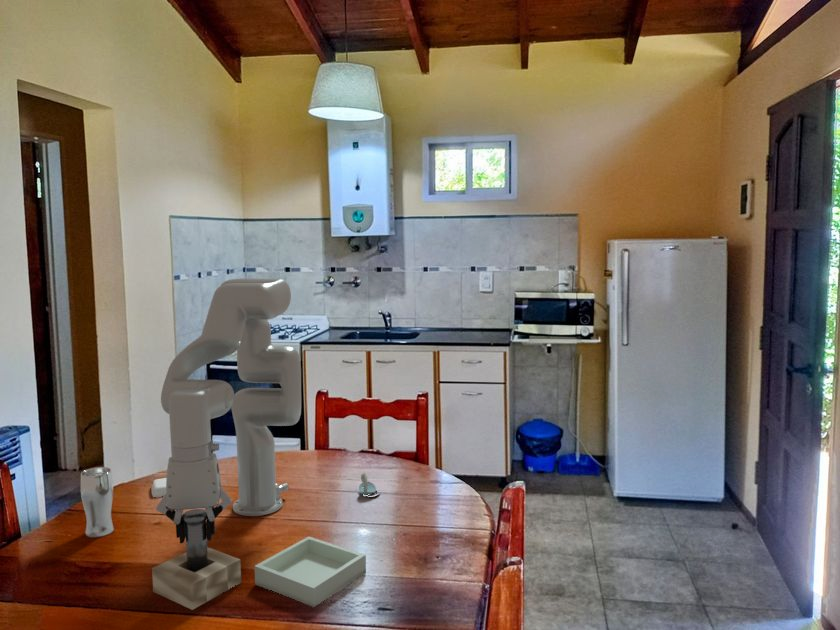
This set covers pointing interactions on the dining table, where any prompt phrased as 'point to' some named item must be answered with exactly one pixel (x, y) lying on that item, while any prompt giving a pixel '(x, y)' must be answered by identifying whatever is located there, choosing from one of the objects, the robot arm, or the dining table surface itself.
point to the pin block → (196, 579)
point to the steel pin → (196, 539)
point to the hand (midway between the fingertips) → (196, 538)
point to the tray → (310, 570)
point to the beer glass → (97, 500)
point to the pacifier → (366, 486)
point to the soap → (159, 487)
